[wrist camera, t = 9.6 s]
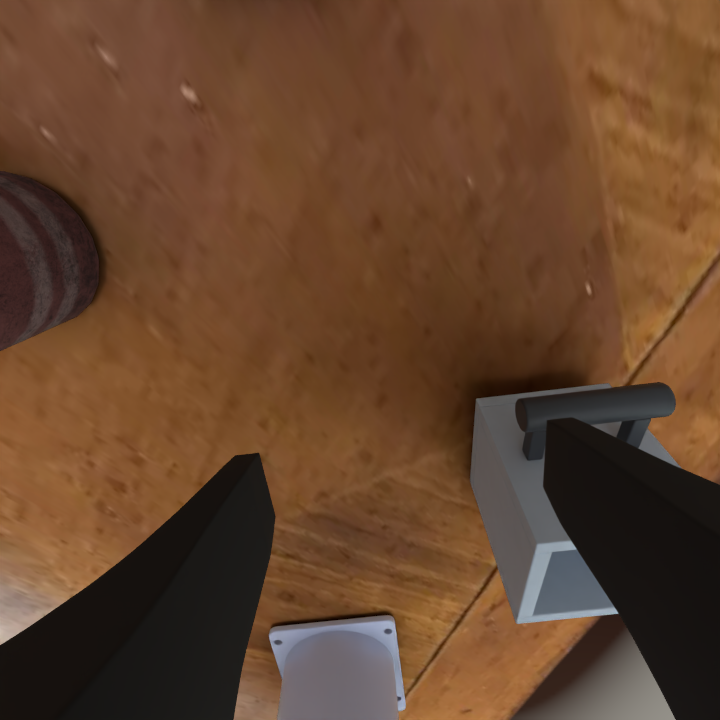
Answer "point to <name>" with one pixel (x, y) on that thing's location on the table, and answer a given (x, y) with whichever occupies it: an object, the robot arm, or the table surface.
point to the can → (41, 260)
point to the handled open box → (528, 498)
